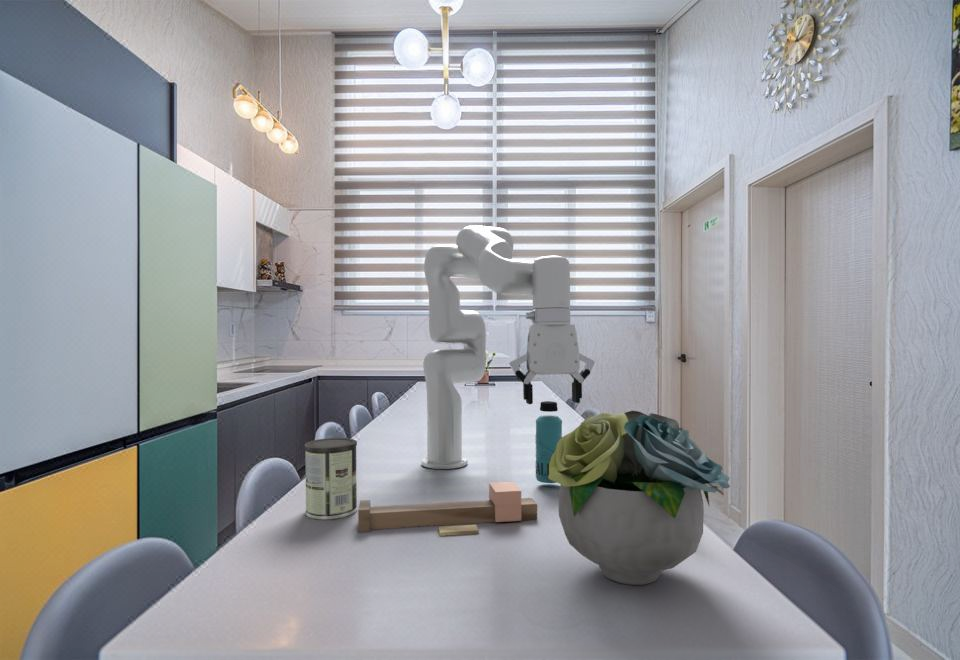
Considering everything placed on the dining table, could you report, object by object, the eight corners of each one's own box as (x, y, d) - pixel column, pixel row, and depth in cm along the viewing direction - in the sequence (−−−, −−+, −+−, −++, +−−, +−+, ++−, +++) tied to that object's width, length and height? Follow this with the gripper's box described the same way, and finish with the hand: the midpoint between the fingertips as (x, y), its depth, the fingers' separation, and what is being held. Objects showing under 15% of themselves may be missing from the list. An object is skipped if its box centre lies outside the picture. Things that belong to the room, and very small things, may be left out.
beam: (360, 513, 113) (360, 493, 113) (525, 504, 118) (525, 485, 118) (357, 541, 98) (357, 518, 98) (545, 529, 103) (545, 507, 103)
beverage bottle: (562, 482, 135) (562, 399, 135) (563, 490, 128) (563, 403, 128) (535, 482, 136) (534, 399, 136) (535, 489, 129) (534, 403, 129)
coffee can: (328, 501, 121) (327, 436, 121) (367, 507, 117) (367, 439, 117) (293, 515, 112) (293, 445, 112) (334, 523, 107) (334, 449, 107)
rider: (489, 511, 113) (489, 482, 113) (513, 509, 114) (513, 481, 114) (495, 522, 106) (495, 492, 106) (521, 520, 107) (521, 490, 107)
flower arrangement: (659, 537, 99) (659, 399, 99) (758, 604, 75) (757, 421, 75) (525, 549, 94) (524, 403, 94) (584, 625, 70) (583, 429, 70)
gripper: (512, 317, 108) (514, 406, 108) (599, 317, 111) (600, 403, 110) (506, 319, 116) (507, 402, 116) (587, 318, 118) (588, 399, 118)
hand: (552, 402), depth 113 cm, fingers open, 9 cm apart
